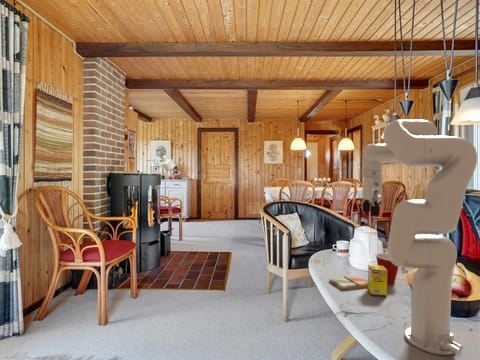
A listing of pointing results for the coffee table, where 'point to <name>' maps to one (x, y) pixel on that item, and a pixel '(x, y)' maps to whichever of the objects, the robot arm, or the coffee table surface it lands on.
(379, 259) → the plastic cup
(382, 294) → the supplement box
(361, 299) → the coffee table surface
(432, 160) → the robot arm
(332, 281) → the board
